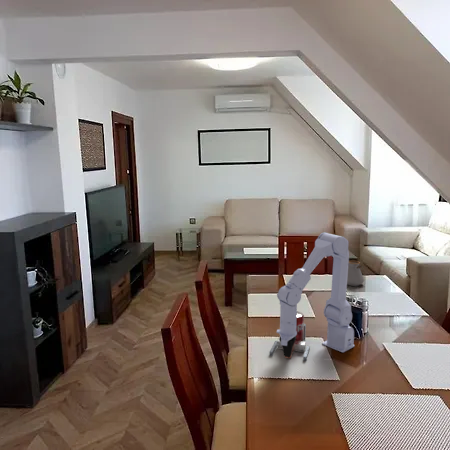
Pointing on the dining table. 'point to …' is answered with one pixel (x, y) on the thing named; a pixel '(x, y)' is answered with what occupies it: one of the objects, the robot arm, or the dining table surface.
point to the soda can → (299, 326)
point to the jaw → (295, 347)
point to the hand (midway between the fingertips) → (287, 356)
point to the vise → (303, 339)
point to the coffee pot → (354, 274)
